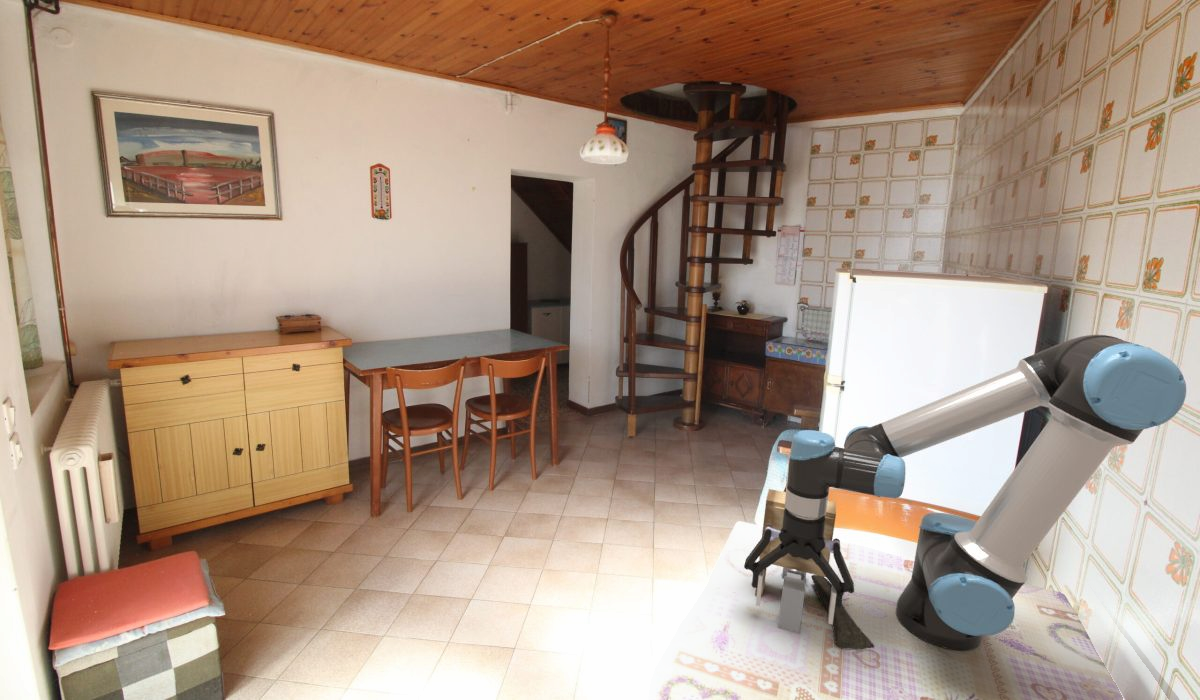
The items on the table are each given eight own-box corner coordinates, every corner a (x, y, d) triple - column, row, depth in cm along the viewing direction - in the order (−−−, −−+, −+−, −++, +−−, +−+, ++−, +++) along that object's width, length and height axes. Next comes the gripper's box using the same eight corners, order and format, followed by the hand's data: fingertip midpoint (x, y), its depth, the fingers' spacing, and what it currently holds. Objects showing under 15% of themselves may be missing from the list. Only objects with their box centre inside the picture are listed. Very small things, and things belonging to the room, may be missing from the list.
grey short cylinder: (805, 575, 132) (807, 563, 132) (804, 587, 128) (806, 575, 127) (783, 569, 134) (784, 558, 134) (781, 581, 130) (782, 569, 129)
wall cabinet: (821, 596, 125) (835, 501, 120) (821, 615, 118) (836, 516, 114) (757, 580, 129) (768, 488, 125) (754, 598, 123) (765, 502, 118)
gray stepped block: (802, 586, 128) (807, 549, 126) (799, 633, 112) (804, 592, 111) (783, 581, 129) (788, 544, 128) (777, 627, 114) (782, 586, 112)
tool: (875, 656, 109) (879, 644, 109) (836, 653, 109) (840, 640, 108) (829, 582, 129) (832, 570, 128) (796, 579, 129) (799, 567, 128)
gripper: (875, 516, 109) (861, 616, 113) (741, 491, 118) (732, 585, 122) (878, 534, 102) (863, 639, 106) (735, 506, 111) (727, 605, 115)
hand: (793, 610), depth 114 cm, fingers open, 13 cm apart
